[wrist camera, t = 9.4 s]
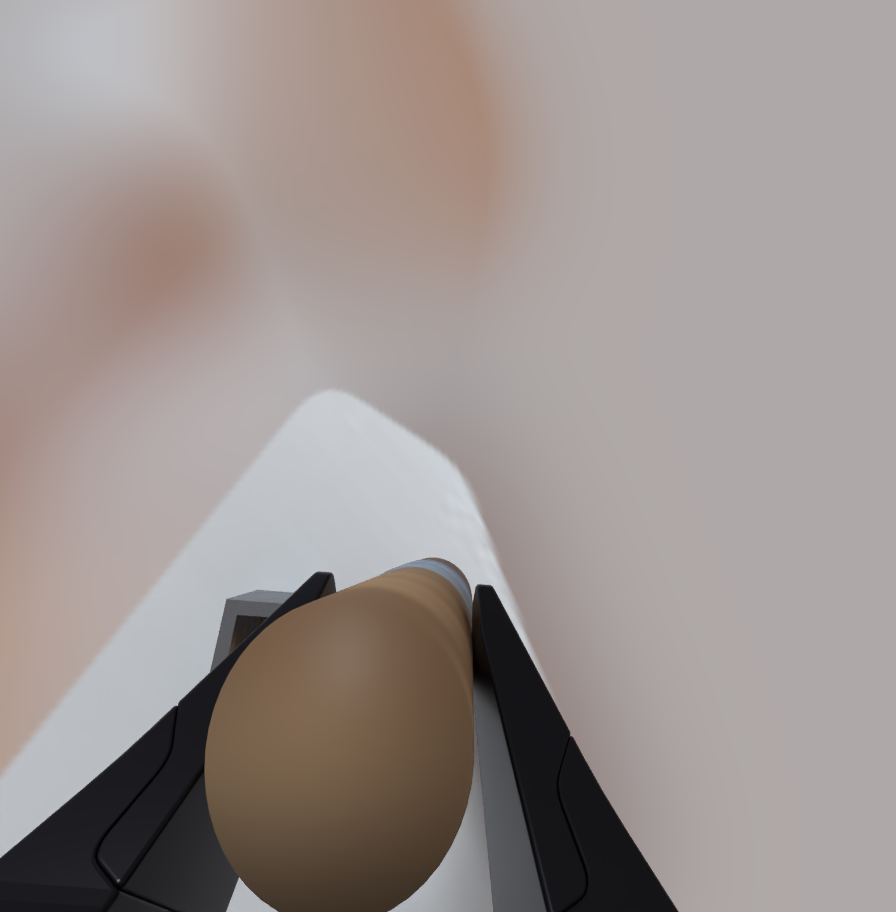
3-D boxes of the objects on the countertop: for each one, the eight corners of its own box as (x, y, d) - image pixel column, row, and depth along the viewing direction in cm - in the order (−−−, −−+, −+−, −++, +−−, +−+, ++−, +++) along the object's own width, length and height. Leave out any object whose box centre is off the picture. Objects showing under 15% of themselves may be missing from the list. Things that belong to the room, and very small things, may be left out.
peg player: (471, 648, 14) (470, 955, 4) (388, 639, 15) (168, 904, 4) (474, 559, 15) (482, 603, 5) (396, 553, 16) (235, 583, 5)
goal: (300, 737, 18) (274, 775, 15) (228, 732, 18) (188, 769, 15) (323, 595, 20) (303, 605, 17) (257, 590, 20) (226, 599, 17)
